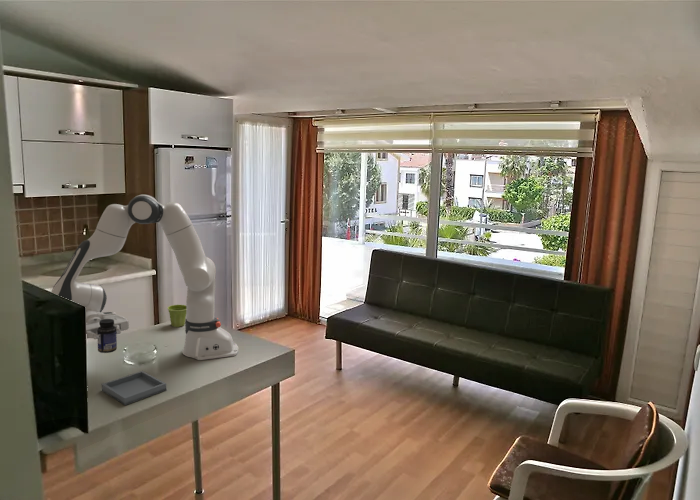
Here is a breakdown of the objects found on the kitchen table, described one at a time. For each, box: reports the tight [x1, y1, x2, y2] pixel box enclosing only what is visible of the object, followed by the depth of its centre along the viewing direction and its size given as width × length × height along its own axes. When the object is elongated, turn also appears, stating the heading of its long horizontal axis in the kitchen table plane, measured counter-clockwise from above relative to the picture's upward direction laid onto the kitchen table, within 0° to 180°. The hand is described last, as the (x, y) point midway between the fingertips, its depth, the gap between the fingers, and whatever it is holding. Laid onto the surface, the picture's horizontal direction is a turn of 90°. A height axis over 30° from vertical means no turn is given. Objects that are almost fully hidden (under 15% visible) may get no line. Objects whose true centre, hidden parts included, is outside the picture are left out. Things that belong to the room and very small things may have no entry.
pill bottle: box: [97, 319, 118, 354], centre depth 181 cm, size 6×6×11 cm
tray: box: [101, 370, 167, 406], centre depth 175 cm, size 15×15×2 cm
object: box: [167, 304, 186, 328], centre depth 241 cm, size 9×9×9 cm
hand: (108, 334), depth 180 cm, fingers closed on pill bottle, 6 cm apart
